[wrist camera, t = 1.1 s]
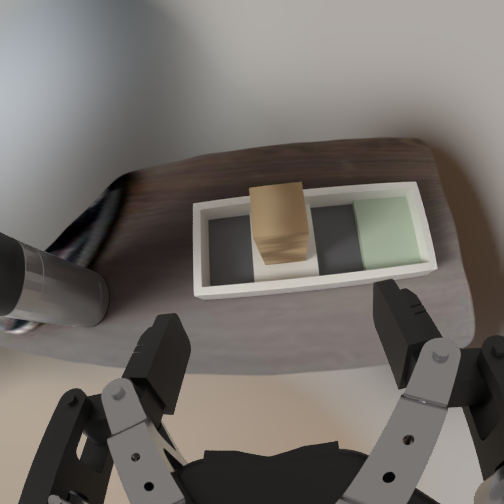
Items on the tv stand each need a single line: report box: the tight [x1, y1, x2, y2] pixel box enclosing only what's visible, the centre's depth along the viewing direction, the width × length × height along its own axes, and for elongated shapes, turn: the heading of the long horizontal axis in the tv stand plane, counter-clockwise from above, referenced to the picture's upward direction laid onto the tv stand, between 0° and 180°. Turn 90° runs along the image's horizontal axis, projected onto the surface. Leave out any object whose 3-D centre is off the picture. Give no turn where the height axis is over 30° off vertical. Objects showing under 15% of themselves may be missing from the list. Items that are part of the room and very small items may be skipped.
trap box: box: [193, 182, 438, 300], centre depth 36 cm, size 30×12×4 cm, turn 94°
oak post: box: [249, 182, 309, 265], centre depth 32 cm, size 5×5×11 cm
